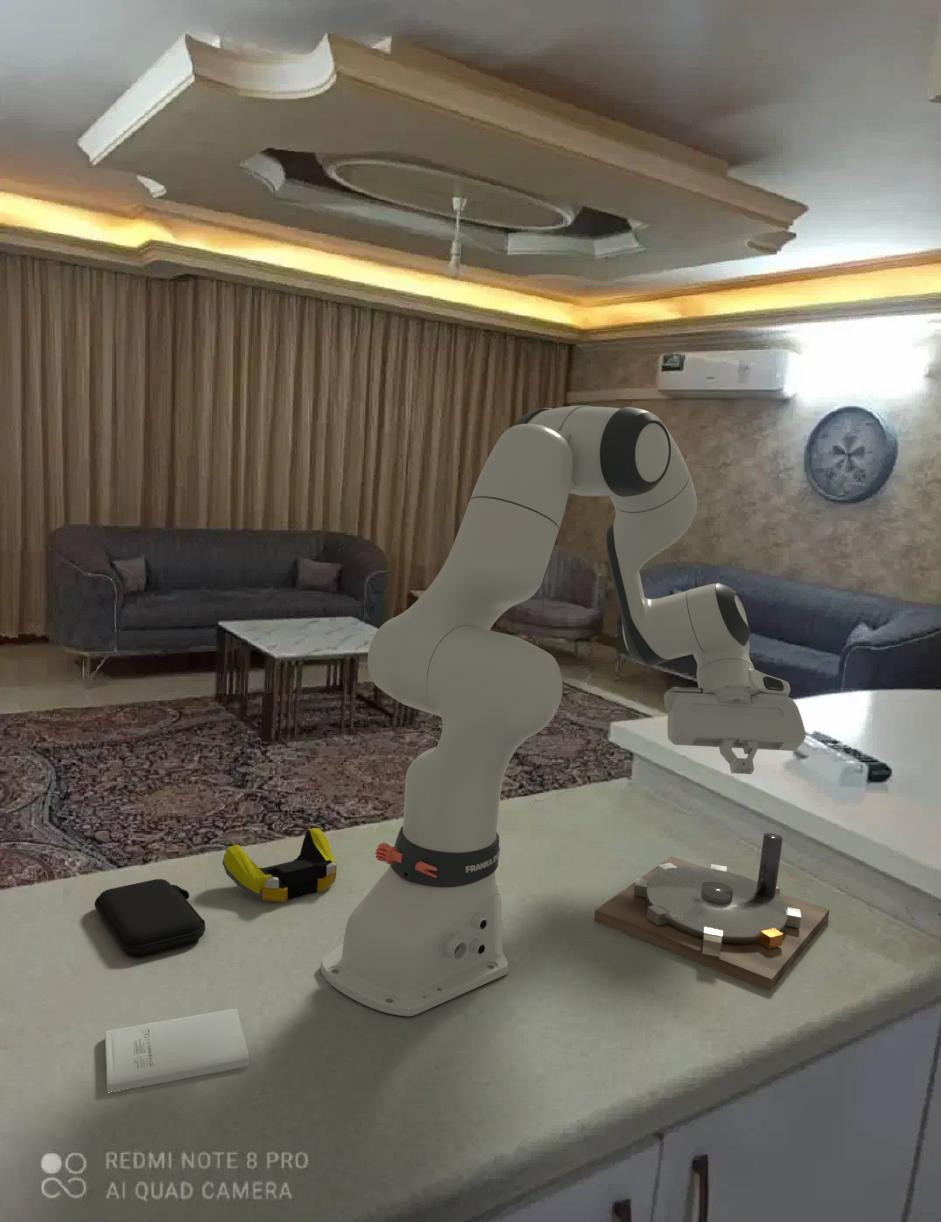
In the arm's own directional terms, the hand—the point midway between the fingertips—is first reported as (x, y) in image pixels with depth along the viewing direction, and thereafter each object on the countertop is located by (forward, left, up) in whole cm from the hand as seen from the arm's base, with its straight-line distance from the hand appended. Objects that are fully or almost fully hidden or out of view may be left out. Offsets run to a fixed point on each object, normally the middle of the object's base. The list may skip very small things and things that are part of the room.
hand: (742, 772), depth 133 cm
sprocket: (-16, -4, -14) cm, 21 cm away
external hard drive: (-79, +24, -16) cm, 84 cm away
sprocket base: (-16, -4, -16) cm, 23 cm away
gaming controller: (-48, +43, -16) cm, 67 cm away
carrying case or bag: (-66, +46, -16) cm, 82 cm away
